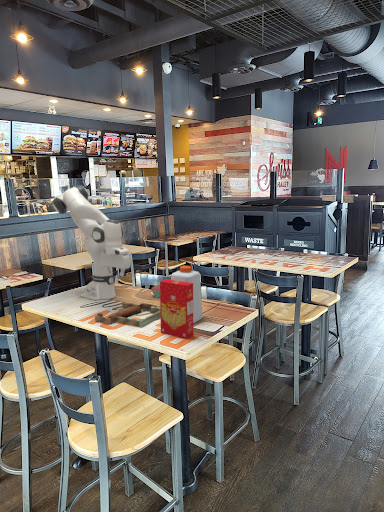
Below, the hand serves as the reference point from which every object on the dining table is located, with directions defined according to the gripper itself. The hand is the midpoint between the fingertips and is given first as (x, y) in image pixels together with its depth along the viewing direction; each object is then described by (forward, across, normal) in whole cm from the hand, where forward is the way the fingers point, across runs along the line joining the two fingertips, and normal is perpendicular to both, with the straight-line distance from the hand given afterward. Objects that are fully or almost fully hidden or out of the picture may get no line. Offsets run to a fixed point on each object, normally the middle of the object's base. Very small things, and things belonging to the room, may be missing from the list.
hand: (115, 275), depth 210 cm
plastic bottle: (+22, +38, +12) cm, 46 cm away
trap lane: (+21, +13, -1) cm, 25 cm away
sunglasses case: (+22, +7, -2) cm, 23 cm away
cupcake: (+21, -2, +36) cm, 42 cm away
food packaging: (+22, +47, -6) cm, 53 cm away
